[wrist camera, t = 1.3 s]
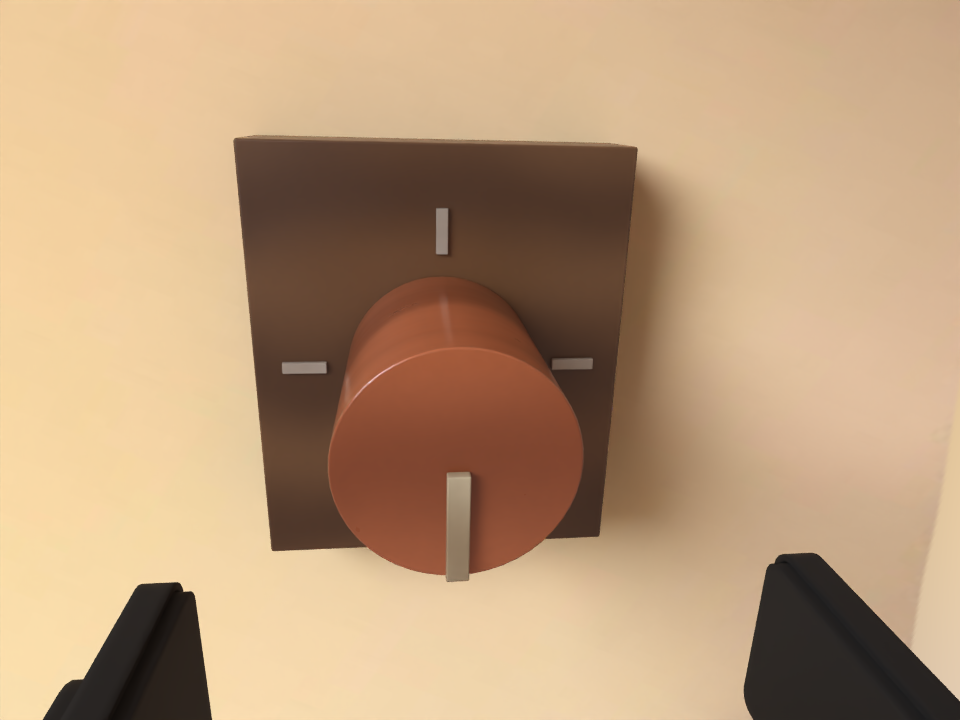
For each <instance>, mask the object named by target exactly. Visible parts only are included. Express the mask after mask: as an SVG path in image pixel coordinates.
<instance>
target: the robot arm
mask: <svg viewBox="0 0 960 720" xmlns="http://www.w3.org/2000/svg"><path fill="white" fill-rule="evenodd" d="M744 698H745V703H746V706H747V709H748V711H749V713H750V715H751V716H752V718H753V720H960V701H959V700H958V699H957V698H956V697H955V696H954V695H953V694H952V693H951V692H950V691H949V690H948V689H947V688H946V686H945V685H944V684H943V683H942V682H941V681H940V680H939V679H938V678H937V677H936V676H935V675H934V674H933V673H932V672H931V671H930V670H929V669H928V668H927V667H926V666H925V665H924V664H923V663H922V662H921V661H920V659H919V658H918V657H916V655H915V654H914V653H913V652H912V651H911V650H910V649H909V648H908V647H907V646H906V645H905V644H904V643H903V642H902V641H901V640H900V639H899V638H898V637H897V636H896V635H895V633H894V632H893V631H892V630H891V629H890V628H889V627H888V626H887V625H886V624H885V623H884V622H883V621H882V620H881V619H880V618H879V617H878V616H877V615H876V614H875V613H874V612H873V611H872V610H871V609H870V608H869V606H868V605H867V604H866V603H865V602H864V601H863V600H862V599H861V598H860V597H859V596H858V595H857V594H856V593H855V592H854V591H853V590H852V589H851V588H850V587H849V586H848V585H847V584H846V583H845V582H844V581H843V579H842V578H841V577H840V576H839V575H838V574H837V573H836V572H835V571H834V570H833V569H832V568H831V567H830V566H829V565H828V564H827V563H826V562H825V561H824V560H823V559H822V558H821V557H820V556H819V555H817V554H815V553H798V554H782V555H779V556H778V557H777V559H776V561H775V563H774V564H770V565H769V566H768V567H767V570H766V575H765V580H764V585H763V590H762V595H761V601H760V606H759V611H758V616H757V621H756V627H755V632H754V637H753V642H752V647H751V652H750V658H749V663H748V668H747V673H746V678H745V684H744ZM43 720H212V717H211V709H210V702H209V695H208V687H207V680H206V673H205V666H204V658H203V651H202V644H201V637H200V629H199V622H198V615H197V607H196V600H195V595H194V593H193V592H191V591H190V592H183V588H182V586H181V584H180V583H178V582H174V583H152V584H140V585H138V586H137V588H136V589H135V590H134V592H133V594H132V596H131V597H130V599H129V601H128V603H127V604H126V606H125V608H124V610H123V611H122V613H121V615H120V617H119V618H118V620H117V622H116V624H115V625H114V627H113V629H112V631H111V632H110V634H109V636H108V637H107V639H106V641H105V643H104V644H103V646H102V648H101V650H100V651H99V653H98V655H97V657H96V658H95V660H94V662H93V664H92V665H91V667H90V669H89V671H88V672H87V674H86V676H85V678H84V679H83V680H72V681H70V682H69V683H67V684H66V685H65V686H64V687H63V688H62V690H61V691H60V692H59V694H58V695H57V697H56V699H55V700H54V702H53V704H52V705H51V707H50V709H49V710H48V712H47V714H46V715H45V717H44V719H43Z"/></svg>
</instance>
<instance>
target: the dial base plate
mask: <svg viewBox="0 0 960 720" xmlns="http://www.w3.org/2000/svg"><path fill="white" fill-rule="evenodd" d="M233 142H234V152H235V163H236V174H237V184H238V195H239V206H240V217H241V227H242V238H243V249H244V259H245V270H246V281H247V292H248V302H249V313H250V324H251V334H252V345H253V356H254V367H255V377H256V388H257V399H258V409H259V420H260V431H261V442H262V452H263V463H264V474H265V484H266V495H267V506H268V517H269V527H270V538H271V549H272V551H287V550H310V549H332V548H355V547H367V546H366V545H364V544H363V543H362V542H361V541H360V540H359V539H358V538H357V537H356V536H355V535H354V534H353V532H352V531H351V530H350V529H349V528H348V526H347V525H346V523H345V522H344V520H343V519H342V517H341V515H340V513H339V511H338V509H337V507H336V505H335V503H334V500H333V496H332V493H331V490H330V485H329V478H328V454H329V448H330V442H331V437H332V432H333V428H334V423H335V418H336V414H337V409H338V404H339V399H340V395H341V390H342V385H343V380H344V376H345V371H346V366H347V361H348V357H349V352H350V347H351V343H352V340H353V337H354V334H355V332H356V330H357V328H358V325H359V323H360V322H361V320H362V319H363V317H364V316H365V314H366V313H367V312H368V311H369V309H370V308H371V307H372V306H373V305H374V304H375V303H376V302H377V301H378V300H379V299H381V298H382V297H383V296H384V295H386V294H387V293H389V292H390V291H392V290H393V289H395V288H397V287H399V286H401V285H403V284H406V283H409V282H412V281H415V280H418V279H423V278H428V277H441V276H443V277H456V278H461V279H466V280H469V281H472V282H475V283H478V284H480V285H482V286H484V287H486V288H488V289H490V290H491V291H493V292H494V293H496V294H497V295H499V296H500V297H501V298H502V299H503V300H505V301H506V302H507V303H508V304H509V305H510V307H511V308H512V309H513V310H514V311H515V313H516V314H517V316H518V317H519V319H520V320H521V322H522V324H523V325H524V327H525V329H526V330H527V332H528V334H529V336H530V337H531V339H532V341H533V342H534V344H535V346H536V347H537V349H538V351H539V353H540V354H541V356H542V358H543V359H544V361H545V363H546V364H547V366H548V368H549V370H550V371H551V373H552V375H553V376H554V378H555V380H556V381H557V383H558V385H559V387H560V388H561V390H562V392H563V393H564V395H565V397H566V398H567V400H568V402H569V404H570V405H571V407H572V409H573V411H574V414H575V416H576V418H577V420H578V424H579V427H580V431H581V434H582V441H583V449H584V450H583V469H582V475H581V480H580V483H579V487H578V490H577V493H576V495H575V498H574V500H573V502H572V504H571V506H570V508H569V510H568V511H567V513H566V514H565V516H564V518H563V519H562V520H561V522H560V523H559V524H558V525H557V527H556V528H555V529H554V530H553V531H552V532H551V533H550V534H549V535H548V536H547V537H546V538H545V539H556V538H578V537H598V536H599V534H600V524H601V514H602V504H603V494H604V484H605V474H606V464H607V454H608V444H609V433H610V423H611V413H612V403H613V393H614V383H615V373H616V363H617V353H618V342H619V332H620V322H621V312H622V302H623V292H624V282H625V272H626V262H627V251H628V241H629V231H630V221H631V211H632V201H633V191H634V181H635V171H636V160H637V150H638V149H637V147H633V146H626V145H618V144H611V143H578V142H533V141H489V140H445V139H400V138H356V137H311V136H267V135H254V136H247V137H240V138H235V139H234V141H233Z"/></svg>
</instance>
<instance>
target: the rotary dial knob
mask: <svg viewBox="0 0 960 720" xmlns="http://www.w3.org/2000/svg"><path fill="white" fill-rule="evenodd" d="M583 450H584V449H583V441H582V434H581V431H580V427H579V424H578V420H577V418H576V416H575V414H574V411H573V409H572V407H571V405H570V404H569V402H568V400H567V398H566V397H565V395H564V393H563V392H562V390H561V388H560V387H559V385H558V383H557V381H556V380H555V378H554V376H553V375H552V373H551V371H550V370H549V368H548V366H547V364H546V363H545V361H544V359H543V358H542V356H541V354H540V353H539V351H538V349H537V347H536V346H535V344H534V342H533V341H532V339H531V337H530V336H529V334H528V332H527V330H526V329H525V327H524V325H523V324H522V322H521V320H520V319H519V317H518V316H517V314H516V313H515V311H514V310H513V309H512V308H511V307H510V305H509V304H508V303H507V302H506V301H505V300H503V299H502V298H501V297H500V296H499V295H497V294H496V293H494V292H493V291H491V290H490V289H488V288H486V287H484V286H482V285H480V284H478V283H475V282H472V281H469V280H466V279H461V278H456V277H443V276H441V277H428V278H423V279H418V280H415V281H412V282H409V283H406V284H403V285H401V286H399V287H397V288H395V289H393V290H392V291H390V292H389V293H387V294H386V295H384V296H383V297H382V298H381V299H379V300H378V301H377V302H376V303H375V304H374V305H373V306H372V307H371V308H370V309H369V311H368V312H367V313H366V314H365V316H364V317H363V319H362V320H361V322H360V323H359V325H358V328H357V330H356V332H355V334H354V337H353V340H352V343H351V347H350V352H349V357H348V361H347V366H346V371H345V376H344V380H343V385H342V390H341V395H340V399H339V404H338V409H337V414H336V418H335V423H334V428H333V432H332V437H331V442H330V448H329V454H328V478H329V485H330V490H331V493H332V496H333V500H334V503H335V505H336V507H337V509H338V511H339V513H340V515H341V517H342V519H343V520H344V522H345V523H346V525H347V526H348V528H349V529H350V530H351V531H352V532H353V534H354V535H355V536H356V537H357V538H358V539H359V540H360V541H361V542H362V543H363V544H364V545H366V546H367V547H368V548H369V549H370V550H372V551H373V552H375V553H376V554H378V555H379V556H381V557H382V558H384V559H386V560H388V561H390V562H392V563H394V564H396V565H399V566H402V567H404V568H407V569H410V570H414V571H418V572H422V573H428V574H436V575H446V581H447V582H454V581H468V580H469V574H472V573H477V572H481V571H486V570H490V569H493V568H496V567H499V566H502V565H504V564H506V563H508V562H511V561H513V560H515V559H517V558H519V557H520V556H522V555H524V554H525V553H527V552H529V551H530V550H532V549H533V548H534V547H536V546H537V545H538V544H539V543H541V542H542V541H543V540H544V539H545V538H546V537H547V536H548V535H549V534H550V533H551V532H552V531H553V530H554V529H555V528H556V527H557V525H558V524H559V523H560V522H561V520H562V519H563V518H564V516H565V514H566V513H567V511H568V510H569V508H570V506H571V504H572V502H573V500H574V498H575V495H576V493H577V490H578V487H579V483H580V480H581V475H582V469H583Z"/></svg>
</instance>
